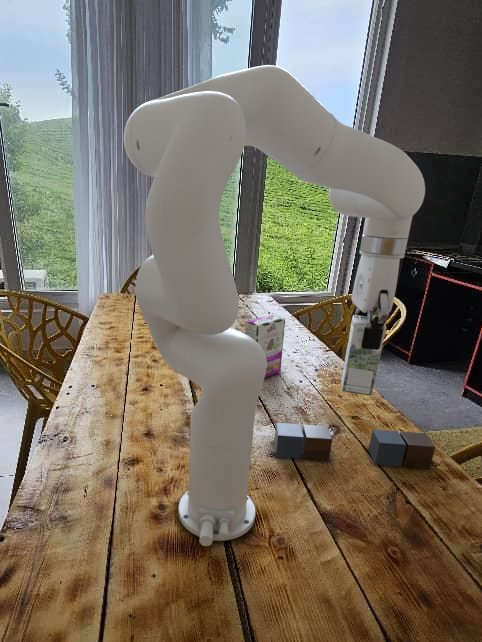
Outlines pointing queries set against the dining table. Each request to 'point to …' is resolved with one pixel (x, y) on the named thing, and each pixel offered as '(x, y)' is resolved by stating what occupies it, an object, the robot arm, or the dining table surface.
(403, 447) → the slate block
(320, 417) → the dining table surface
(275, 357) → the candy bar box
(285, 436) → the slate block
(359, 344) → the syrup box
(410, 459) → the walnut block
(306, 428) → the walnut block
